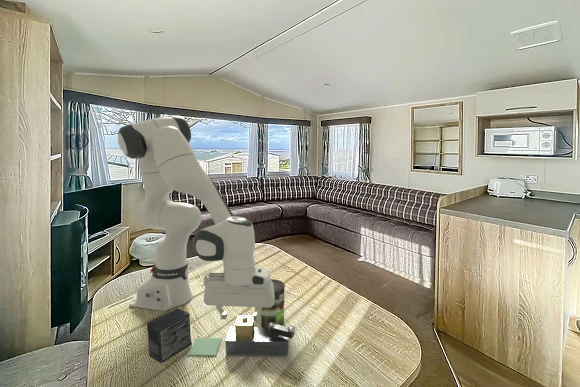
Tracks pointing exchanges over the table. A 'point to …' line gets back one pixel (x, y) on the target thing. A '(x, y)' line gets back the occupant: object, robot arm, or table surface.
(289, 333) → the lever
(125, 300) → the table surface
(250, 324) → the wooden cube with knob
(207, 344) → the mat
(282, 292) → the coffee can
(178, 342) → the small box
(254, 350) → the body
